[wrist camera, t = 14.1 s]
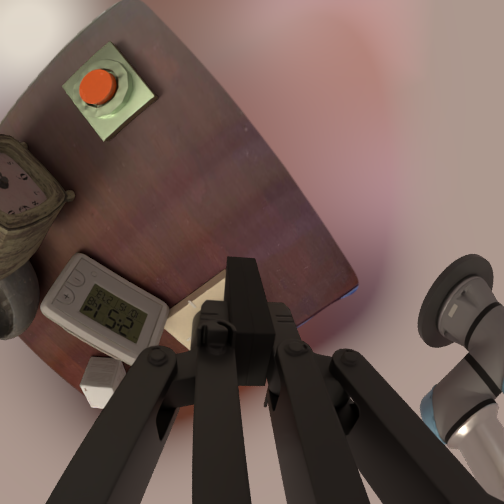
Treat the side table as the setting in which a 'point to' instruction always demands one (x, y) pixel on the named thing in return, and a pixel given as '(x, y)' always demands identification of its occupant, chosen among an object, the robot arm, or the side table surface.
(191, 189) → the side table surface
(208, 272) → the side table surface
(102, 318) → the digital clock
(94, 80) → the push button
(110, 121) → the button block
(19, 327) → the bowl
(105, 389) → the product box
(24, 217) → the tabletop clock
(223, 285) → the dial panel
